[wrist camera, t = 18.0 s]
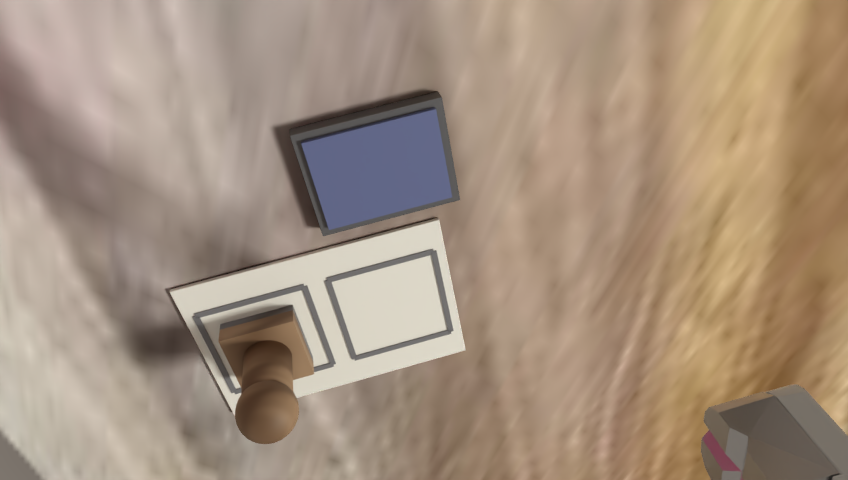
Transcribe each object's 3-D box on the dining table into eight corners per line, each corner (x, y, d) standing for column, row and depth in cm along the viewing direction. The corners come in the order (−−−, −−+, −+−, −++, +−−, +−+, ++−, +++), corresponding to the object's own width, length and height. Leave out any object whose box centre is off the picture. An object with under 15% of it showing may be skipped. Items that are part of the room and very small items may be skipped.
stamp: (292, 304, 43) (296, 395, 36) (312, 356, 46) (320, 450, 39) (220, 324, 43) (209, 419, 36) (245, 375, 45) (239, 473, 38)
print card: (438, 217, 42) (439, 220, 42) (464, 347, 49) (465, 351, 48) (170, 289, 41) (169, 293, 41) (234, 412, 48) (234, 416, 47)
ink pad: (438, 91, 37) (442, 98, 36) (456, 192, 41) (461, 201, 40) (289, 129, 37) (289, 137, 36) (322, 228, 41) (323, 238, 40)
